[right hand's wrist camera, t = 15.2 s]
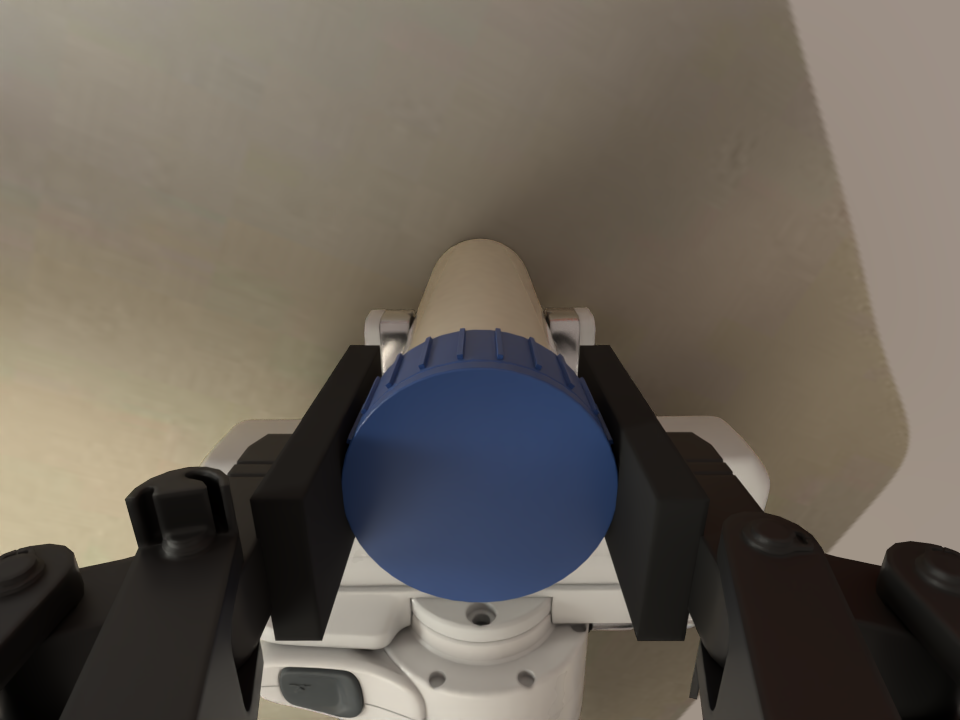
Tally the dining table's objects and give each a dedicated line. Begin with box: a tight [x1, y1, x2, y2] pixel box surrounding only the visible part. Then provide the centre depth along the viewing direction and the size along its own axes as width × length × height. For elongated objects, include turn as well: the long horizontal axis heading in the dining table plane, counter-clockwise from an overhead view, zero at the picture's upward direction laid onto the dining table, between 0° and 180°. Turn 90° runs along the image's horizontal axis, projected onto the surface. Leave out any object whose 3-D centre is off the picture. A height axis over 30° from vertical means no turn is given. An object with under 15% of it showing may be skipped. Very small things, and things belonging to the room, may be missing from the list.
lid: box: [341, 328, 618, 603], centre depth 11 cm, size 5×5×2 cm
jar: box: [401, 239, 559, 356], centre depth 18 cm, size 5×5×15 cm
